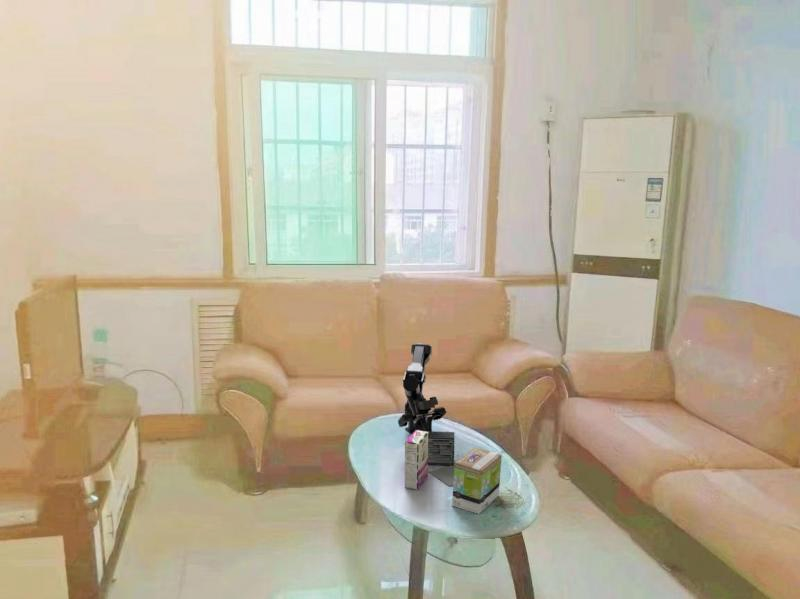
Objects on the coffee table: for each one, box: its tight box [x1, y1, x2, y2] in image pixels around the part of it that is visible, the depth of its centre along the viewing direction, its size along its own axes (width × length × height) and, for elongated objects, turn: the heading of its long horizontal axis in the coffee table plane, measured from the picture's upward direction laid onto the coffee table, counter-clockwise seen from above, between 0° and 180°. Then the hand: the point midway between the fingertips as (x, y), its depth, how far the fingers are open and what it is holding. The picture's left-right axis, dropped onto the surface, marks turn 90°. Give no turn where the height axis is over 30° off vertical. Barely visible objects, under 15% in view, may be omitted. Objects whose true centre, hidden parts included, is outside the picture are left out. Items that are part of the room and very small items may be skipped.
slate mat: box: [428, 464, 455, 487], centre depth 216 cm, size 12×16×1 cm
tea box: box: [451, 446, 503, 515], centre depth 197 cm, size 15×10×15 cm, turn 148°
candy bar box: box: [404, 430, 429, 491], centre depth 208 cm, size 11×5×16 cm, turn 160°
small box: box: [426, 430, 455, 466], centre depth 225 cm, size 11×6×10 cm, turn 84°
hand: (430, 437), depth 229 cm, fingers closed
